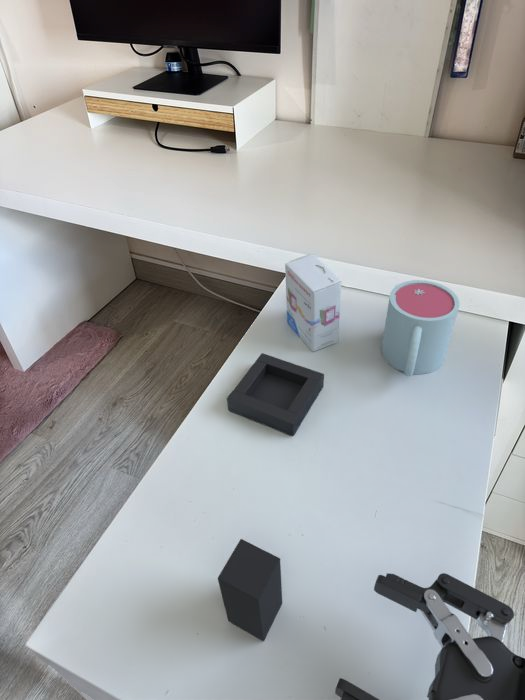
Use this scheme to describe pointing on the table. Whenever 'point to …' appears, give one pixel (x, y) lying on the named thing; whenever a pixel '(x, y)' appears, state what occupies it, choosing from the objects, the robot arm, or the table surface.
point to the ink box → (313, 301)
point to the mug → (419, 326)
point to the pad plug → (251, 589)
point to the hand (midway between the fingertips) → (357, 630)
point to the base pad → (276, 393)
